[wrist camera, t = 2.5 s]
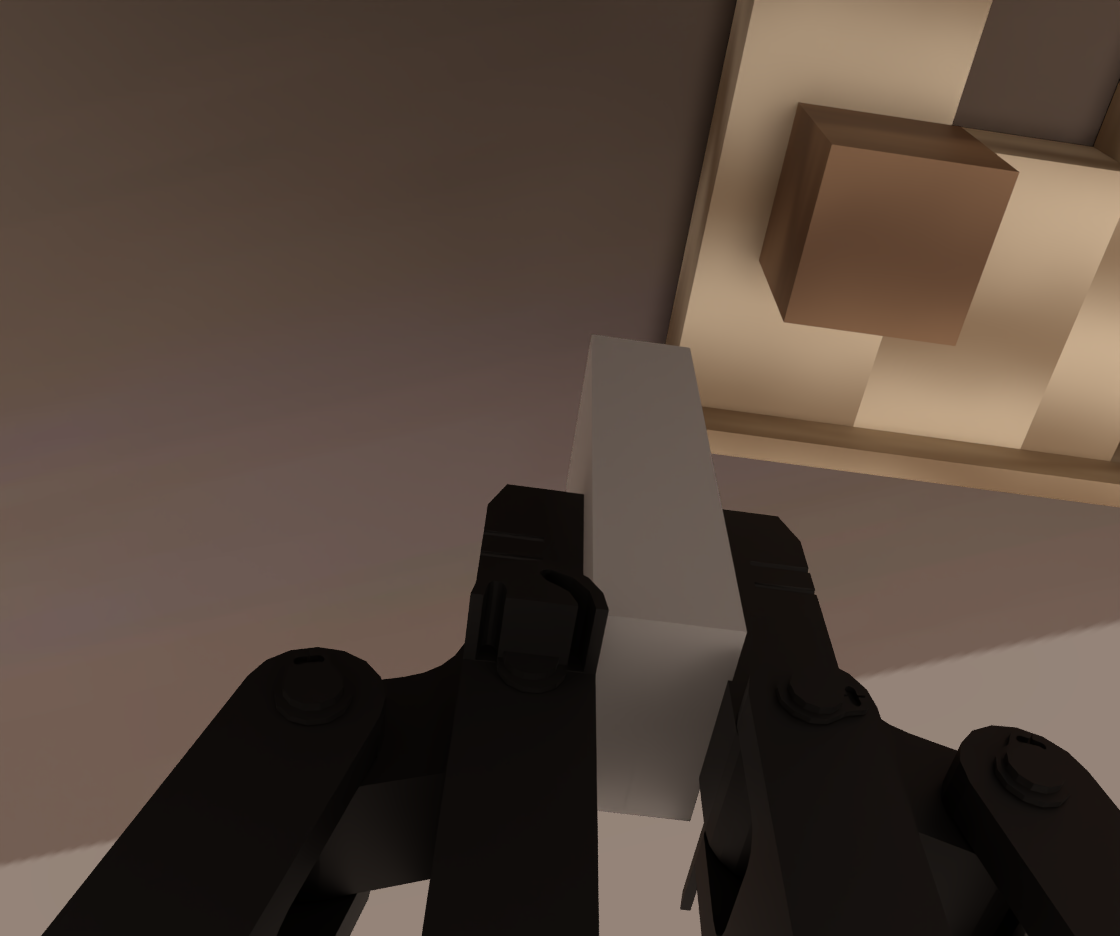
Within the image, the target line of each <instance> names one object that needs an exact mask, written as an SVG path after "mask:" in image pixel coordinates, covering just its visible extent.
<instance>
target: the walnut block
mask: <svg viewBox="0 0 1120 936" xmlns="http://www.w3.org/2000/svg"><path fill="white" fill-rule="evenodd" d="M1018 175H1019V171H1017V170H1016V169H1015V168H1014V167H1012V166H1011V165H1010V164H1008V163H1007V162H1006V161H1005V160H1003V159H1002V158H1001V157H999V156H998V155H997V154H996V153H994V152H993V151H992V150H990V149H989V148H988V147H986V146H985V145H984V144H983V143H981V142H980V141H979V140H977V139H976V138H975V137H974V136H972V135H971V134H970V133H968V132H967V131H966V130H965V129H963V128H962V127H961V126H954V125H947V124H941V123H934V122H927V121H921V120H914V119H907V118H901V117H894V116H887V115H881V114H874V113H867V112H861V111H854V110H847V109H841V108H834V107H827V106H821V105H814V104H807V103H801V102H798V106H797V110H796V114H795V118H794V122H793V126H792V130H791V134H790V138H789V142H788V146H787V150H786V154H785V158H784V162H783V166H782V170H781V174H780V178H779V182H778V186H777V190H776V194H775V198H774V202H773V206H772V210H771V214H770V218H769V222H768V226H767V230H766V234H765V238H764V242H763V246H762V250H761V254H760V258H759V262H760V265H761V267H762V270H763V272H764V275H765V277H766V280H767V282H768V285H769V287H770V290H771V292H772V295H773V297H774V300H775V302H776V305H777V307H778V310H779V312H780V314H781V317H782V319H783V322H785V323H792V324H799V325H807V326H814V327H821V328H828V329H835V330H842V331H850V332H857V333H864V334H871V335H878V336H886V337H893V338H900V339H907V340H914V341H922V342H929V343H936V344H943V345H950V346H956V343H957V340H958V338H959V335H960V332H961V330H962V327H963V324H964V321H965V319H966V316H967V313H968V311H969V308H970V305H971V302H972V300H973V297H974V294H975V292H976V289H977V286H978V284H979V281H980V278H981V275H982V273H983V270H984V267H985V265H986V262H987V259H988V256H989V254H990V251H991V248H992V246H993V243H994V240H995V237H996V235H997V232H998V229H999V227H1000V224H1001V221H1002V219H1003V216H1004V213H1005V210H1006V208H1007V205H1008V202H1009V200H1010V197H1011V194H1012V191H1013V189H1014V186H1015V183H1016V181H1017V178H1018Z"/></svg>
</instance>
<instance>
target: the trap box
mask: <svg viewBox="0 0 1120 936" xmlns="http://www.w3.org/2000/svg"><path fill="white" fill-rule="evenodd" d="M992 1H993V0H737V3H736V8H735V12H734V17H733V22H732V27H731V32H730V36H729V41H728V46H727V51H726V56H725V60H724V65H723V70H722V75H721V79H720V84H719V89H718V94H717V99H716V103H715V108H714V113H713V118H712V123H711V127H710V132H709V137H708V142H707V147H706V151H705V156H704V161H703V166H702V171H701V175H700V180H699V185H698V190H697V194H696V199H695V204H694V209H693V214H692V218H691V223H690V228H689V233H688V238H687V242H686V247H685V252H684V257H683V262H682V266H681V271H680V276H679V281H678V286H677V290H676V295H675V300H674V305H673V309H672V314H671V319H670V324H669V329H668V333H667V338H666V343H665V344H666V345H674V346H681V347H688V348H690V350H691V355H692V360H693V365H694V370H695V375H696V380H697V385H698V390H699V395H700V400H701V405H702V410H703V415H704V420H705V425H706V430H707V435H708V440H709V445H710V450H711V453H713V454H720V455H728V456H735V457H743V458H750V459H758V460H766V461H773V462H781V463H788V464H796V465H803V466H811V467H819V468H826V469H834V470H841V471H849V472H856V473H864V474H872V475H879V476H887V477H894V478H902V479H909V480H917V481H925V482H932V483H940V484H947V485H955V486H962V487H970V488H978V489H985V490H993V491H1000V492H1008V493H1015V494H1023V495H1031V496H1038V497H1046V498H1053V499H1061V500H1068V501H1076V502H1084V503H1091V504H1099V505H1106V506H1114V507H1120V81H1119V83H1118V86H1117V88H1116V91H1115V93H1114V96H1113V98H1112V101H1111V103H1110V106H1109V108H1108V111H1107V113H1106V116H1105V118H1104V121H1103V123H1102V126H1101V128H1100V131H1099V133H1098V136H1097V138H1096V141H1095V143H1094V146H1093V147H1091V146H1084V145H1078V144H1071V143H1064V142H1058V141H1051V140H1045V139H1038V138H1031V137H1025V136H1018V135H1011V134H1005V133H998V132H991V131H985V130H978V129H971V128H965V127H962V128H963V129H965V130H966V131H967V132H968V133H970V134H971V135H972V136H974V137H975V138H976V139H977V140H979V141H980V142H981V143H983V144H984V145H985V146H986V147H988V148H989V149H990V150H992V151H993V152H994V153H996V154H997V155H998V156H999V157H1001V158H1002V159H1003V160H1005V161H1006V162H1007V163H1008V164H1010V165H1011V166H1012V167H1014V168H1015V169H1016V170H1017V171H1019V175H1018V178H1017V181H1016V183H1015V186H1014V189H1013V191H1012V194H1011V197H1010V200H1009V202H1008V205H1007V208H1006V210H1005V213H1004V216H1003V219H1002V221H1001V224H1000V227H999V229H998V232H997V235H996V237H995V240H994V243H993V246H992V248H991V251H990V254H989V256H988V259H987V262H986V265H985V267H984V270H983V273H982V275H981V278H980V281H979V284H978V286H977V289H976V292H975V294H974V297H973V300H972V302H971V305H970V308H969V311H968V313H967V316H966V319H965V321H964V324H963V327H962V330H961V332H960V335H959V338H958V340H957V343H956V346H950V345H943V344H936V343H929V342H922V341H914V340H907V339H900V338H893V337H886V336H878V335H871V334H864V333H857V332H850V331H842V330H835V329H828V328H821V327H814V326H807V325H799V324H792V323H785V322H783V319H782V317H781V314H780V312H779V310H778V307H777V305H776V302H775V300H774V297H773V295H772V292H771V290H770V287H769V285H768V282H767V280H766V277H765V275H764V272H763V270H762V267H761V265H760V262H759V258H760V254H761V250H762V246H763V242H764V238H765V234H766V230H767V226H768V222H769V218H770V214H771V210H772V206H773V202H774V198H775V194H776V190H777V186H778V182H779V178H780V174H781V170H782V166H783V162H784V158H785V154H786V150H787V146H788V142H789V138H790V134H791V130H792V126H793V122H794V118H795V114H796V110H797V106H798V102H801V103H807V104H814V105H821V106H827V107H834V108H841V109H847V110H854V111H861V112H867V113H874V114H881V115H887V116H894V117H901V118H907V119H914V120H921V121H927V122H934V123H941V124H947V125H952V123H953V120H954V117H955V114H956V111H957V108H958V105H959V101H960V98H961V95H962V92H963V89H964V86H965V83H966V80H967V77H968V74H969V71H970V68H971V65H972V62H973V59H974V56H975V53H976V50H977V46H978V43H979V40H980V37H981V34H982V31H983V28H984V25H985V22H986V19H987V16H988V13H989V10H990V7H991V4H992Z"/></svg>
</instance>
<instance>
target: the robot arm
mask: <svg viewBox="0 0 1120 936" xmlns="http://www.w3.org/2000/svg"><path fill="white" fill-rule="evenodd" d="M814 591H815V588H814V585H813V582H812V578H811V575H810V573H808V565H807V562H806V559H805V555H804V552H803V549H802V545H801V542H800V541H799V540H798V538H797V537H796V536H795V535H794V534H793V533H792V532H791V531H790V530H789V528H788V527H787V526H786V525H785V524H784V523H783V522H782V521H781V520H780V518H779V517H778V516H770V515H762V514H755V513H747V512H739V511H731V510H724V509H722V505H721V500H720V495H719V490H718V485H717V480H716V475H715V470H714V465H713V460H712V455H711V450H710V445H709V440H708V435H707V430H706V425H705V420H704V415H703V410H702V405H701V400H700V395H699V390H698V385H697V380H696V375H695V370H694V365H693V360H692V355H691V350H690V348H688V347H681V346H674V345H666V344H659V343H652V342H644V341H637V340H630V339H623V338H615V337H608V336H601V335H593V334H592V335H591V341H590V347H589V353H588V359H587V365H586V370H585V376H584V382H583V388H582V394H581V400H580V406H579V412H578V418H577V424H576V430H575V436H574V442H573V448H572V454H571V460H570V466H569V472H568V478H567V484H566V492H563V491H555V490H547V489H540V488H532V487H524V486H516V485H509V484H507V485H506V486H505V487H504V488H503V489H502V490H501V491H500V492H499V494H498V495H497V496H496V497H495V498H494V499H493V500H492V501H491V502H490V503H489V504H488V507H487V514H486V521H485V527H484V534H483V540H482V547H481V554H480V560H479V567H478V573H477V580H476V584H475V586H474V588H473V590H472V592H471V595H470V604H469V612H468V621H467V629H466V638H465V643H464V645H463V646H462V647H461V649H460V650H459V651H458V652H457V654H456V655H455V656H454V657H452V658H451V659H450V660H448V661H447V662H445V663H444V664H443V665H441V666H439V667H436V668H434V669H432V670H429V671H427V672H425V673H420V674H416V675H411V676H406V677H400V678H392V679H384V680H381V677H380V676H379V675H378V674H377V673H376V672H375V670H374V669H373V668H372V667H371V666H370V665H369V664H368V663H367V662H366V661H364V660H362V659H360V658H358V657H356V656H353V655H351V654H349V653H347V652H345V651H340V650H334V649H327V648H320V647H315V648H306V649H298V650H290V651H288V652H285V653H283V654H280V655H278V656H275V657H273V658H270V659H268V660H266V661H265V662H263V663H262V664H261V665H260V666H259V667H258V668H256V669H255V670H254V671H253V672H252V673H250V674H249V675H248V676H247V677H246V679H245V680H244V681H243V682H242V684H241V685H240V686H239V687H238V689H237V690H236V691H235V692H234V694H233V695H232V696H231V697H230V699H229V700H228V701H227V703H226V704H225V705H224V706H223V708H222V709H221V710H220V711H219V713H218V714H217V715H216V716H215V718H214V719H213V720H212V721H211V723H210V724H209V725H208V726H207V728H206V729H205V730H204V731H203V733H202V734H201V735H200V737H199V738H198V739H197V740H196V742H195V743H194V744H193V745H192V747H191V748H190V749H189V750H188V752H187V753H186V754H185V755H184V757H183V758H182V759H181V760H180V762H179V763H178V764H177V765H176V767H175V768H174V769H173V771H172V772H171V773H170V774H169V776H168V777H167V778H166V779H165V781H164V782H163V783H162V784H161V786H160V787H159V788H158V789H157V791H156V792H155V793H154V794H153V796H152V797H151V798H150V799H149V801H148V802H147V803H146V805H145V806H144V807H143V808H142V810H141V811H140V812H139V813H138V815H137V816H136V817H135V818H134V820H133V821H132V822H131V823H130V825H129V826H128V827H127V828H126V830H125V831H124V832H123V833H122V835H121V836H120V837H119V839H118V840H117V841H116V842H115V844H114V845H113V846H112V847H111V849H110V850H109V851H108V852H107V854H106V855H105V856H104V857H103V859H102V860H101V861H100V862H99V864H98V865H97V866H96V867H95V869H94V870H93V871H92V873H91V874H90V875H89V876H88V878H87V879H86V880H85V881H84V883H83V884H82V885H81V886H80V888H79V889H78V890H77V891H76V893H75V894H74V895H73V897H72V898H71V899H70V900H69V901H68V903H67V904H66V905H65V907H64V908H63V909H62V910H61V912H60V913H59V914H58V915H57V917H56V918H55V919H54V921H53V922H52V923H51V924H50V926H49V927H48V928H47V930H45V932H44V933H43V934H42V936H350V934H351V932H352V930H353V928H354V926H355V924H356V922H357V920H358V918H359V916H360V914H361V912H362V910H363V908H364V906H365V904H366V902H367V900H368V897H369V894H370V891H371V890H376V889H381V888H386V887H392V886H396V885H402V884H406V883H412V882H417V881H422V880H427V879H430V884H429V890H428V897H427V904H426V910H425V917H424V924H423V931H422V936H599V908H598V907H599V906H598V905H599V902H598V826H597V825H598V823H597V811H605V812H613V813H622V814H631V815H640V816H648V817H657V818H666V819H675V820H684V821H690V820H691V816H692V813H693V810H694V806H695V803H696V800H697V796H698V793H699V790H700V792H701V801H702V808H703V817H704V824H703V828H702V831H701V834H700V838H699V841H698V844H697V847H696V850H695V853H694V857H693V860H692V863H691V866H690V870H689V873H688V876H687V879H686V882H685V885H684V889H683V893H682V900H681V907H680V909H682V910H691V907H692V904H693V901H694V897H695V894H696V891H697V893H698V903H699V914H700V923H701V934H702V936H1120V810H1119V809H1118V808H1117V806H1116V805H1115V804H1114V803H1113V802H1112V800H1111V799H1110V798H1109V797H1108V795H1107V794H1106V793H1105V792H1104V790H1103V789H1102V788H1101V787H1100V786H1099V784H1098V783H1097V782H1096V780H1095V779H1094V778H1093V777H1092V776H1091V774H1090V773H1089V772H1088V771H1087V770H1086V769H1085V768H1084V767H1083V766H1082V765H1081V764H1080V763H1079V762H1078V761H1077V760H1076V759H1074V758H1073V757H1072V756H1071V755H1070V754H1069V753H1068V752H1067V751H1065V750H1063V749H1062V748H1060V747H1059V746H1057V745H1055V744H1054V743H1052V742H1050V741H1049V740H1047V739H1045V738H1044V737H1042V736H1039V735H1036V734H1033V733H1030V732H1027V731H1024V730H1022V729H1019V728H1015V727H1003V726H992V725H991V726H988V727H984V728H980V729H977V730H974V731H972V732H971V733H970V734H969V735H968V736H967V737H966V738H965V739H964V741H963V742H962V743H961V745H960V747H959V749H958V751H957V750H954V749H951V748H948V747H945V746H943V745H939V744H937V743H934V742H931V741H929V740H926V739H923V738H920V737H918V736H915V735H912V734H909V733H907V732H905V731H903V730H900V729H898V728H896V727H894V726H891V725H889V724H888V723H886V722H885V721H883V720H882V719H881V717H880V714H879V711H878V708H877V706H876V705H875V703H874V701H873V700H872V698H871V696H870V694H869V693H868V691H867V689H865V688H864V687H863V686H862V685H861V684H860V683H859V682H858V681H856V680H855V679H854V678H853V677H852V676H851V675H850V674H848V673H847V672H845V671H843V670H841V669H839V668H838V664H837V661H836V658H835V654H834V651H833V648H832V644H831V641H830V638H829V635H828V631H827V628H826V625H825V621H824V618H823V615H822V611H821V608H820V605H819V601H818V598H817V595H814Z"/></svg>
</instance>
